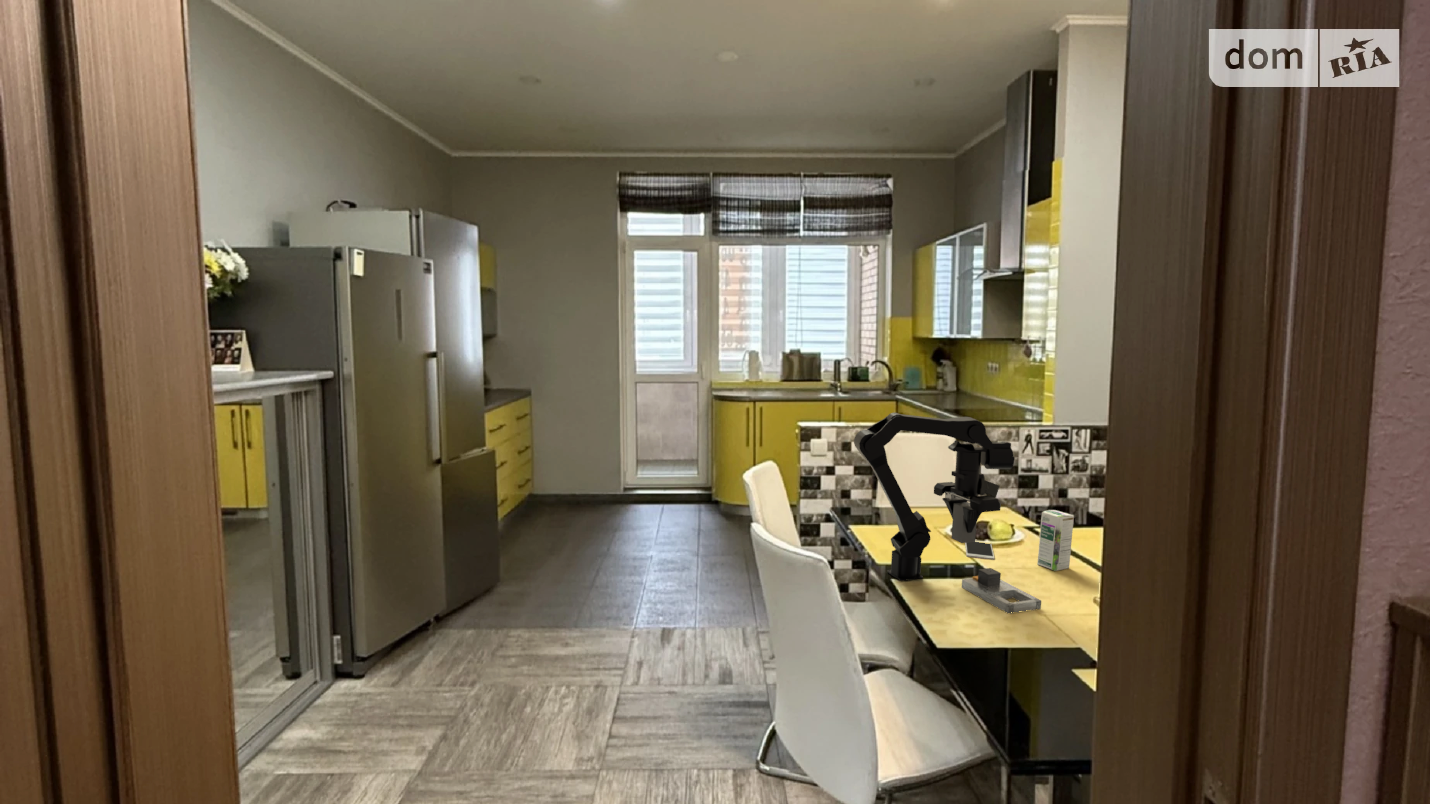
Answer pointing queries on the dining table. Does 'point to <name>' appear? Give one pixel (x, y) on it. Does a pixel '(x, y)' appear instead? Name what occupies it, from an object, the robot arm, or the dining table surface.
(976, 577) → the grey board with hole
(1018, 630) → the dining table surface
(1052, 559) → the syrup box
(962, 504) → the plug
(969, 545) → the smartphone
